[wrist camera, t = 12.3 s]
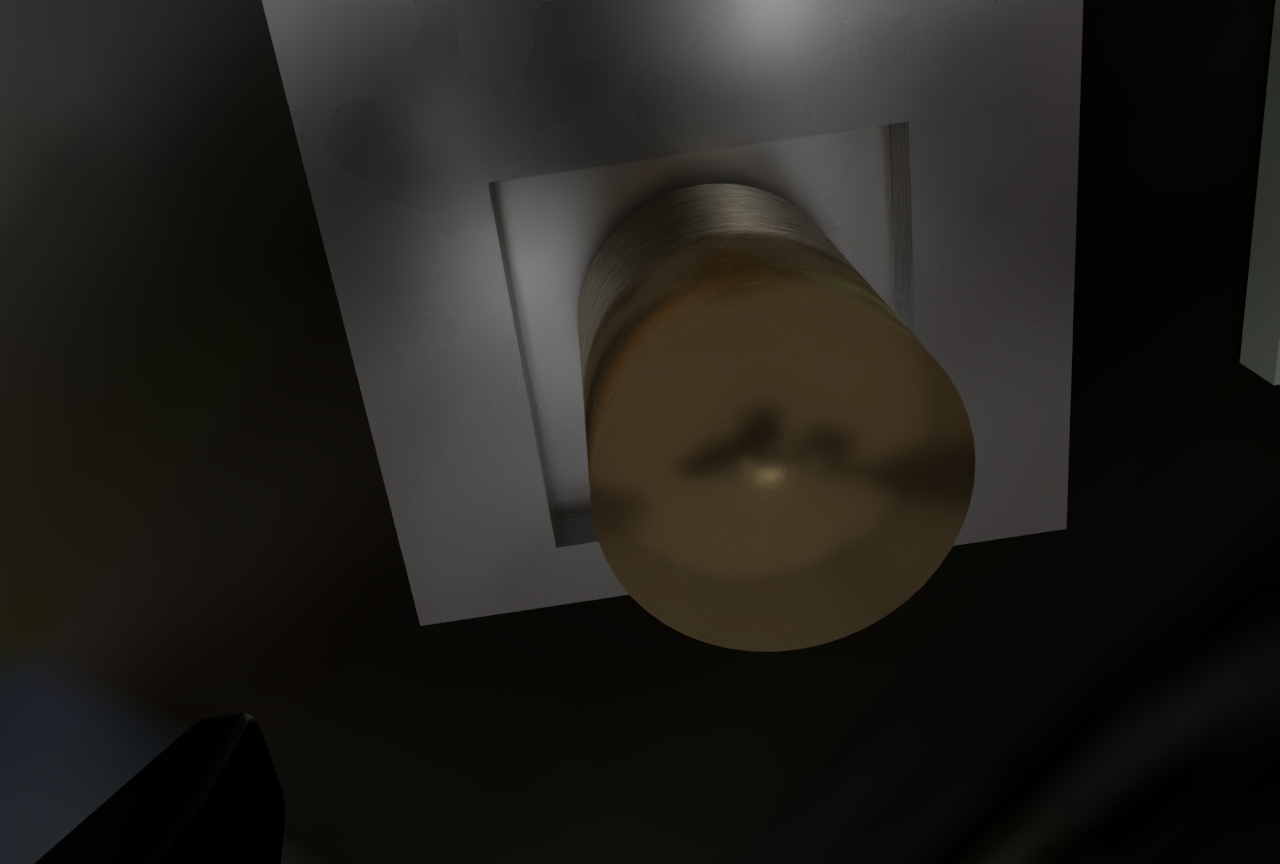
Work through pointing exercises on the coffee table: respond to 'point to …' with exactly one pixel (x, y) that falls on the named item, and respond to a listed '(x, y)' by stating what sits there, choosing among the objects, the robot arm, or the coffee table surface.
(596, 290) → the billet
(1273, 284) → the pad
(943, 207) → the pallet plate
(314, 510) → the coffee table surface
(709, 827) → the coffee table surface
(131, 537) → the coffee table surface
